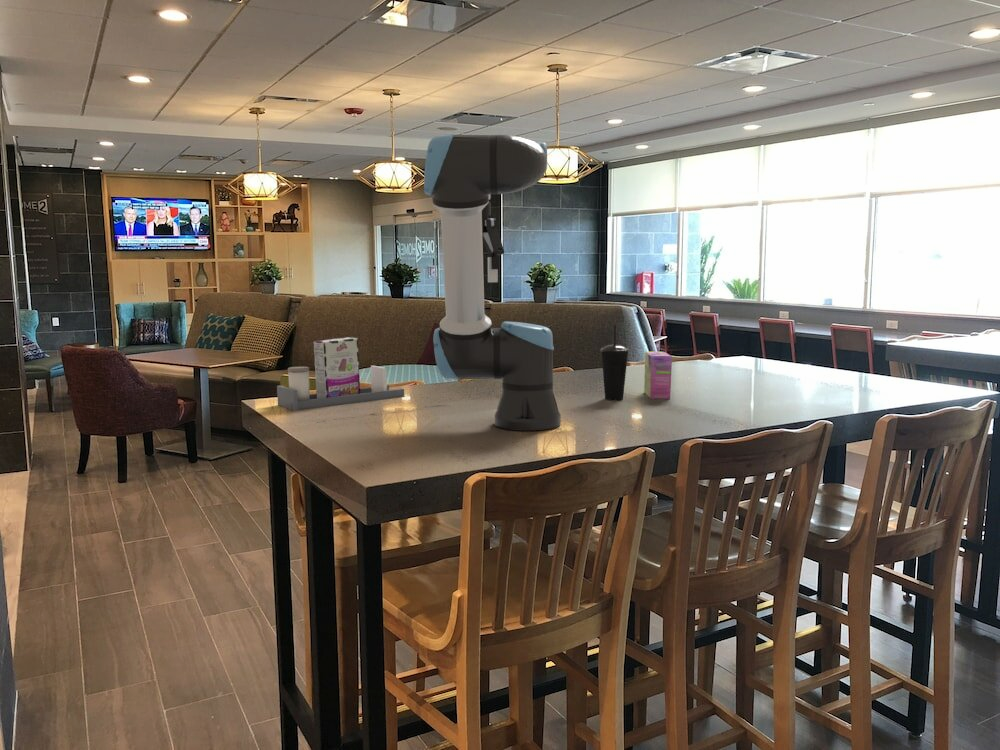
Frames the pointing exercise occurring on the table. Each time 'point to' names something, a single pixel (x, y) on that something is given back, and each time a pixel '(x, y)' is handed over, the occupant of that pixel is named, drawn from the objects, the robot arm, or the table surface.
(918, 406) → the table surface
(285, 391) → the lane
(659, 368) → the box
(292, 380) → the jar
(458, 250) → the robot arm
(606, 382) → the drinking cup
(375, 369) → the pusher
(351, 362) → the candy bar box
